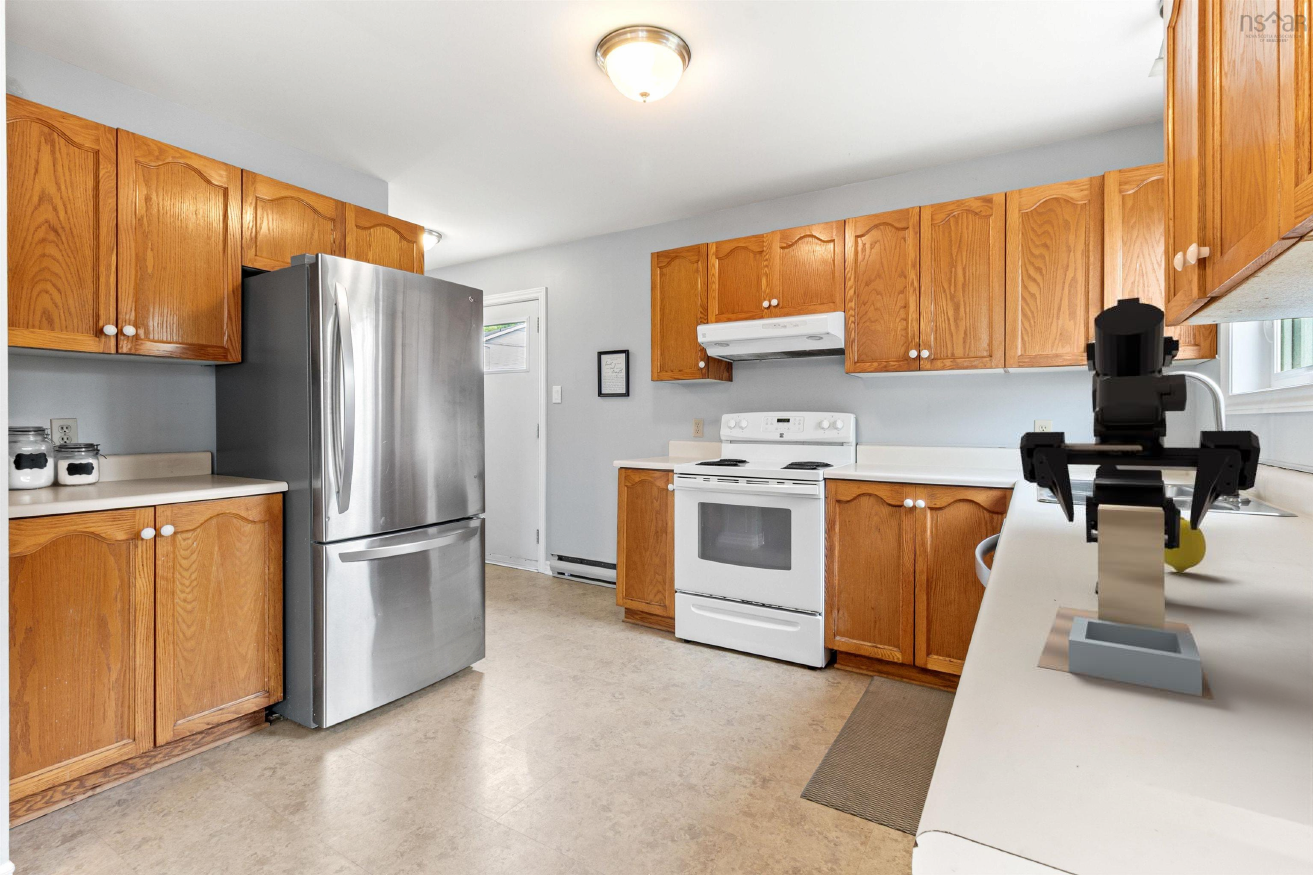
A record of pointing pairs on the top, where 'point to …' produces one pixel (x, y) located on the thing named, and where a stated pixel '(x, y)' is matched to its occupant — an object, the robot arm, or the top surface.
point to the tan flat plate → (1058, 644)
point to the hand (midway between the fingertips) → (1129, 522)
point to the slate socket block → (1136, 655)
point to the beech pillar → (1131, 565)
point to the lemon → (1186, 548)
